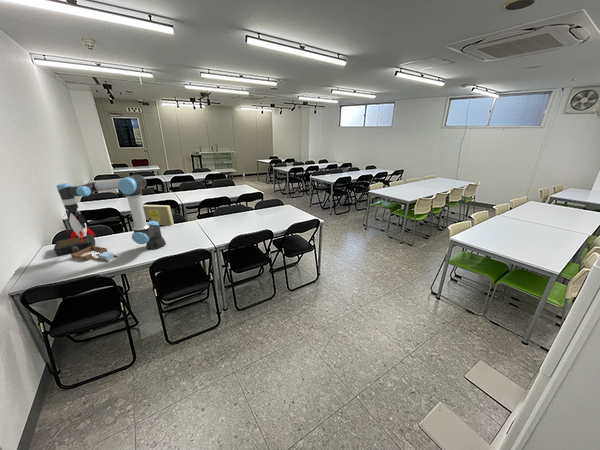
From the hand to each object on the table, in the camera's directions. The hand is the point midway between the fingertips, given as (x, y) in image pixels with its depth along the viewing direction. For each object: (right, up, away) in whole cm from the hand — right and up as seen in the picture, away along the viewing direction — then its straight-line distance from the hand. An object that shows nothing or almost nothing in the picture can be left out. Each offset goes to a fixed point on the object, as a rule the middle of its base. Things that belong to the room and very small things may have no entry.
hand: (80, 230), depth 189 cm
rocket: (0, -7, +3) cm, 8 cm away
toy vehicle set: (+19, +5, +72) cm, 75 cm away
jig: (+9, -21, +6) cm, 24 cm away
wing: (+18, -23, +3) cm, 29 cm away
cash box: (-21, -17, +19) cm, 33 cm away
